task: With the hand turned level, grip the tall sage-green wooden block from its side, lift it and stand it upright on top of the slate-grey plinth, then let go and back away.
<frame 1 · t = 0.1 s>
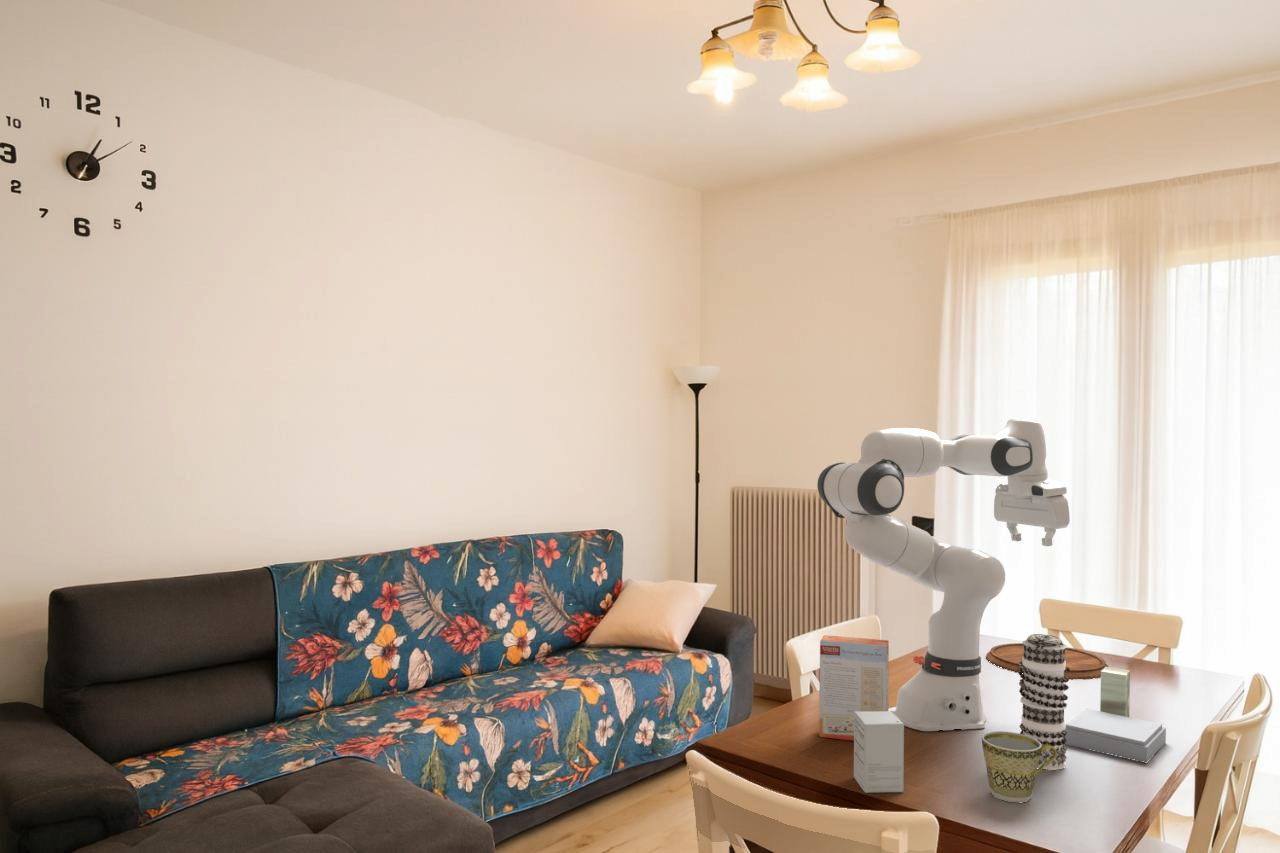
hand: (1031, 543, 214), 39 cm above the table, tool pointing down, fingers open, 8 cm apart
plinth: (1113, 743, 188), on the table
cutting board: (1046, 665, 253), on the table
supplement box: (877, 786, 165), on the table
cracker box: (853, 738, 190), on the table
ceramic cup: (1019, 797, 161), on the table
tall block: (1114, 724, 201), on the table
decorative candle: (1042, 763, 177), on the table
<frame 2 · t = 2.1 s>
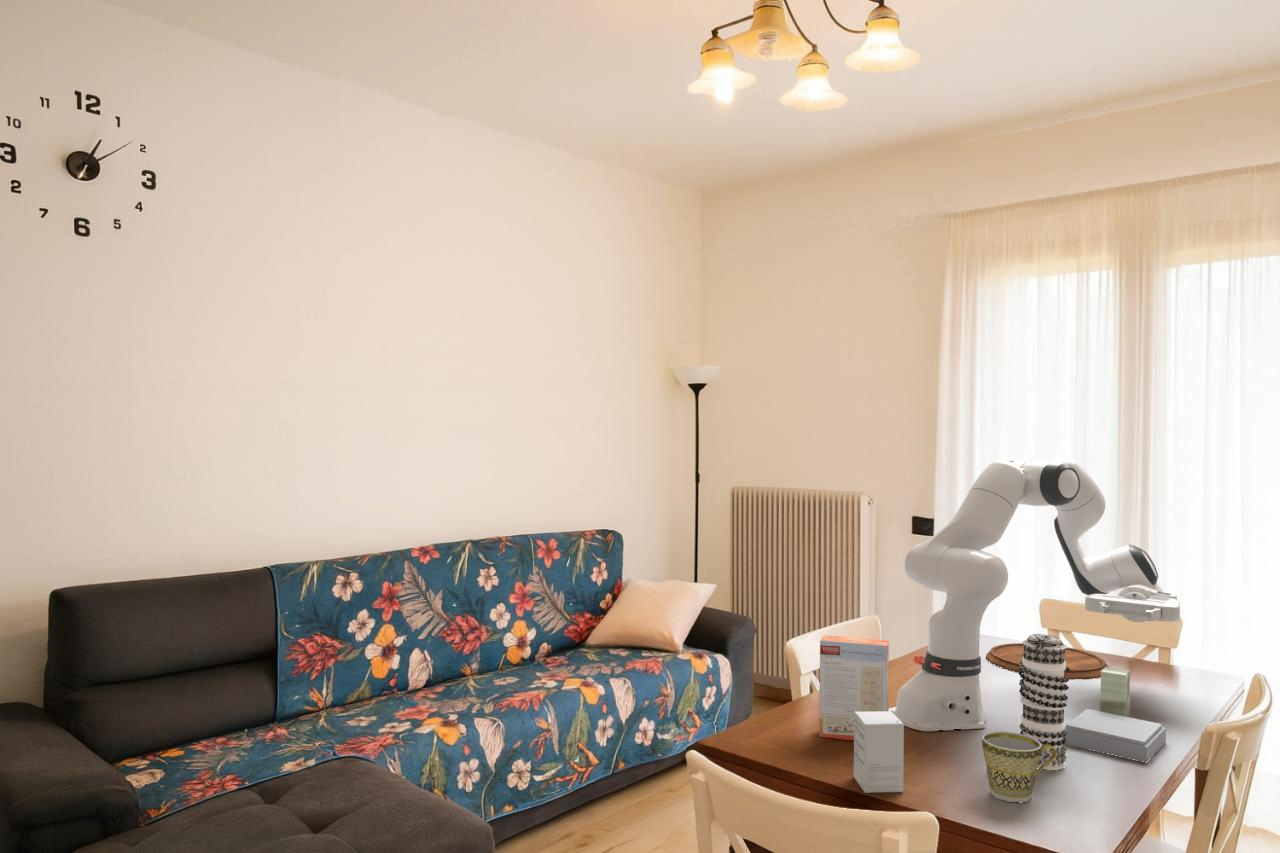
hand: (1126, 612, 210), 23 cm above the table, tool horizontal, fingers open, 8 cm apart
nothing on the table moved.
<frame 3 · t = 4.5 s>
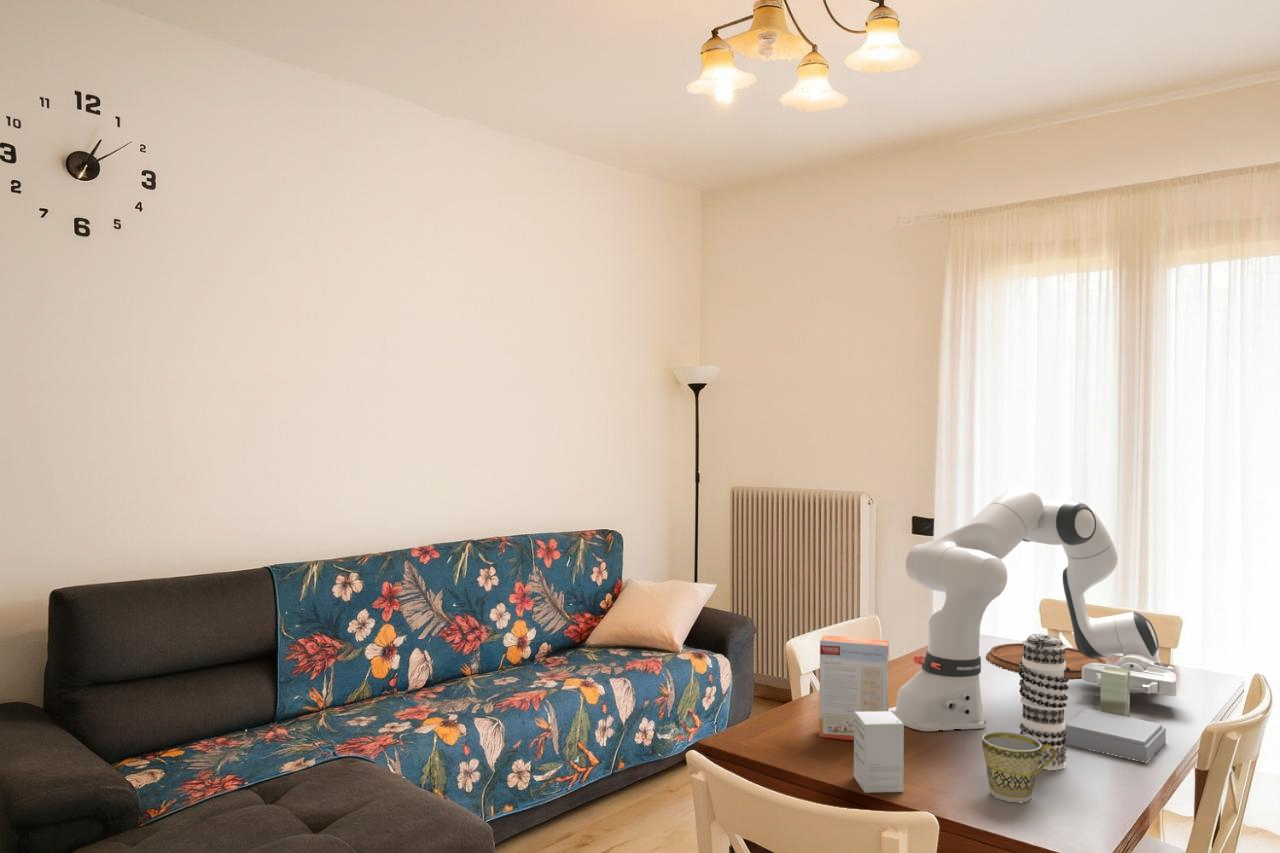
hand: (1123, 685, 209), 6 cm above the table, tool horizontal, fingers open, 8 cm apart
nothing on the table moved.
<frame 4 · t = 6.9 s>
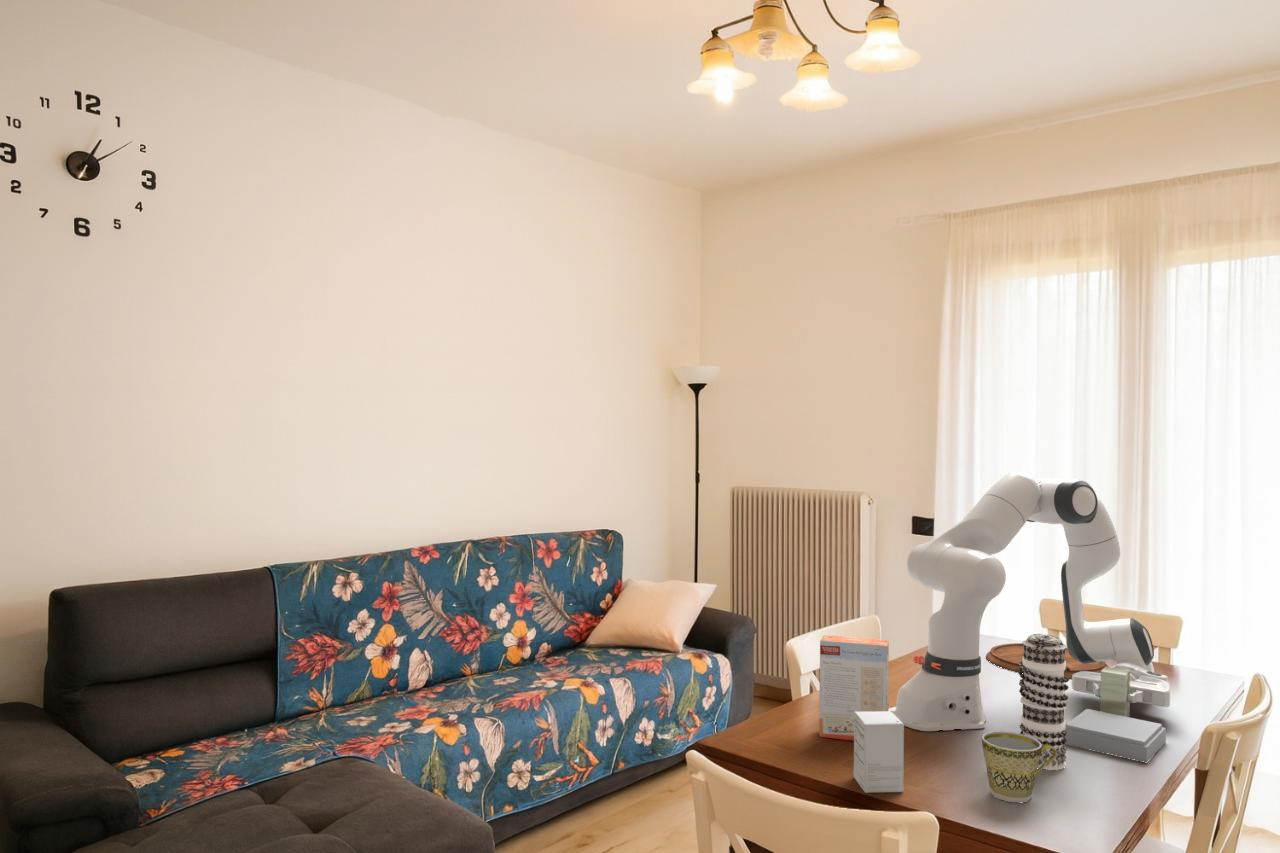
hand: (1114, 696, 200), 7 cm above the table, tool horizontal, fingers closed on tall block, 5 cm apart
tall block: (1114, 724, 201), on the table, touching gripper
everything else where it was.
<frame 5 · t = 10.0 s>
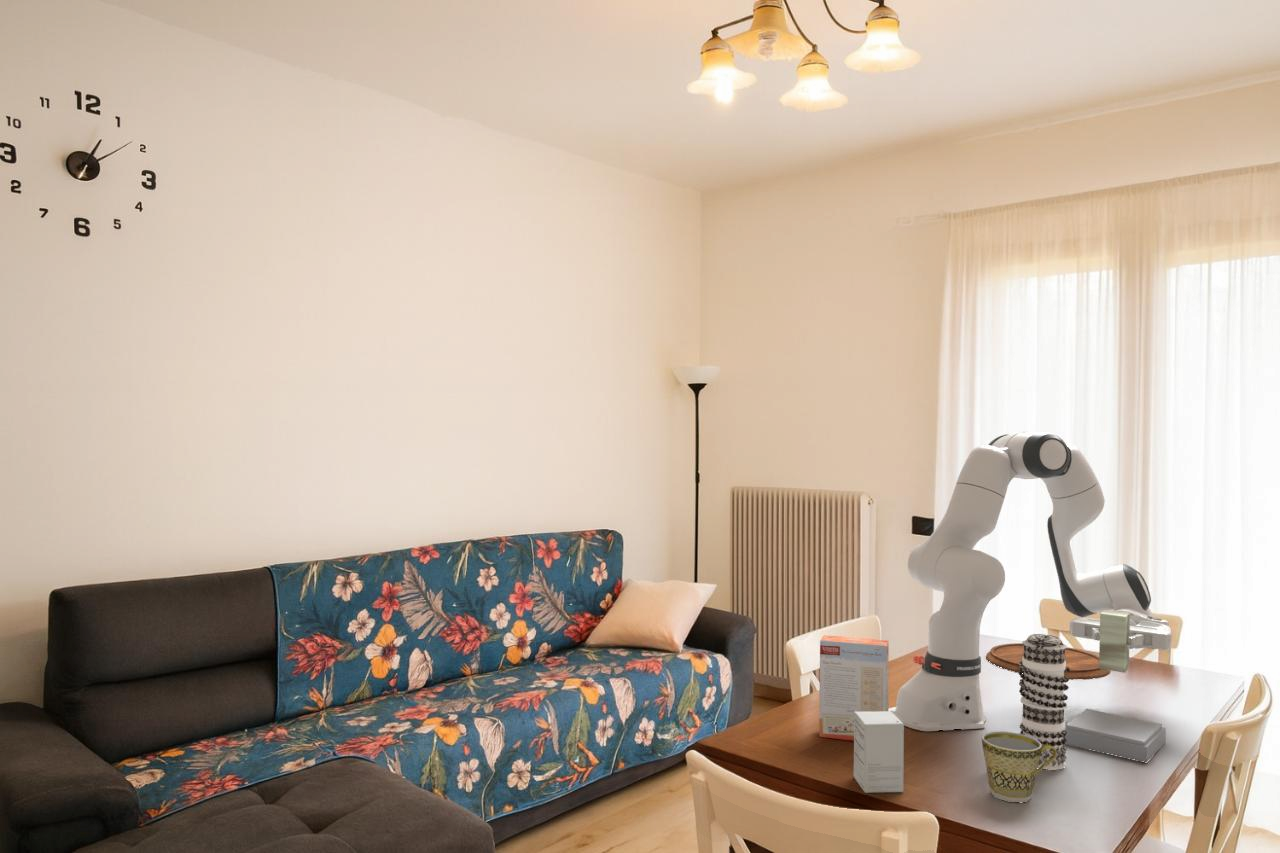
hand: (1113, 639, 194), 21 cm above the table, tool horizontal, fingers closed on tall block, 5 cm apart
tall block: (1114, 668, 195), point 14 cm above the table, touching gripper
everything else where it was.
when the fingers open (12 cm above the table, at t = 13.2 s): tall block drops 1 cm, resting on plinth.
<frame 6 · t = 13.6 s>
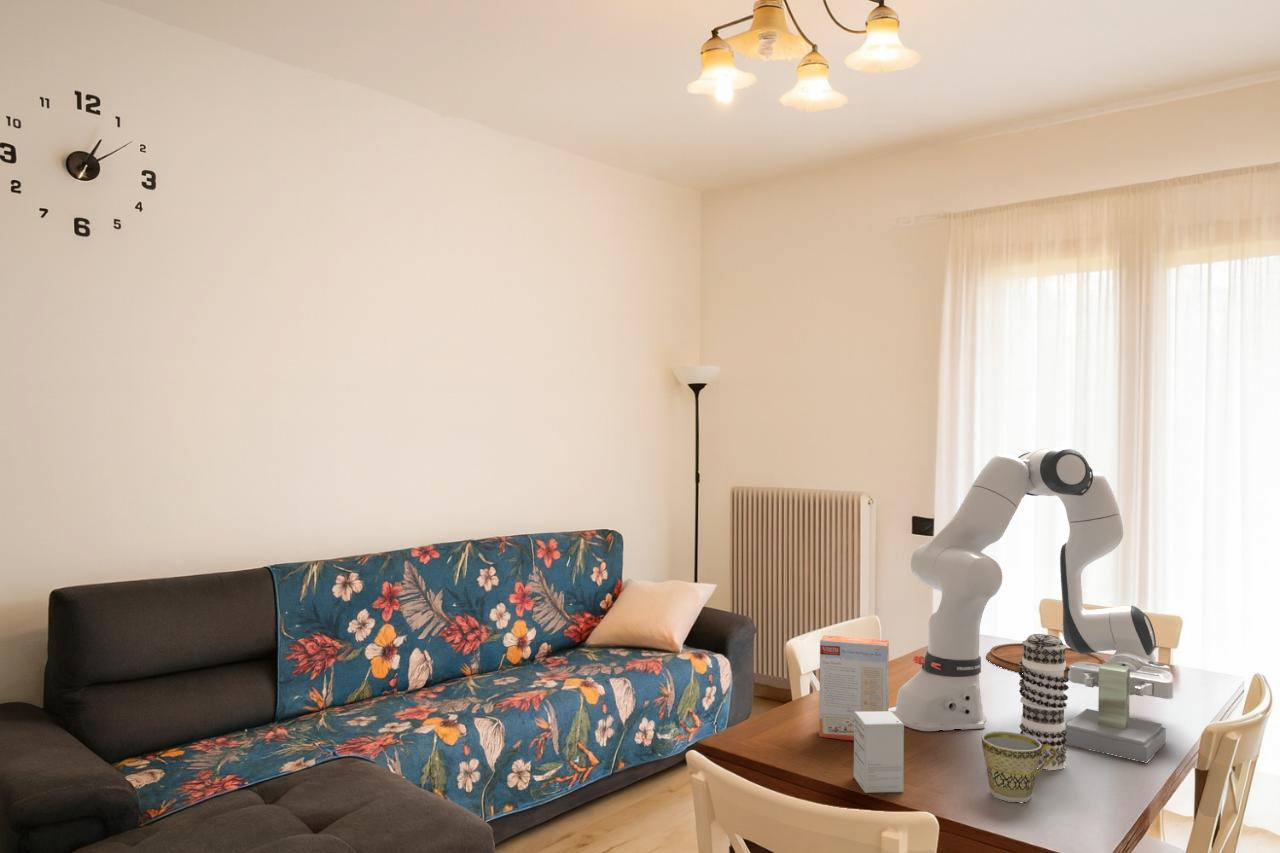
hand: (1113, 687, 188), 12 cm above the table, tool horizontal, fingers open, 8 cm apart
tall block: (1113, 724, 189), point 4 cm above the table, touching plinth
everything else where it was.
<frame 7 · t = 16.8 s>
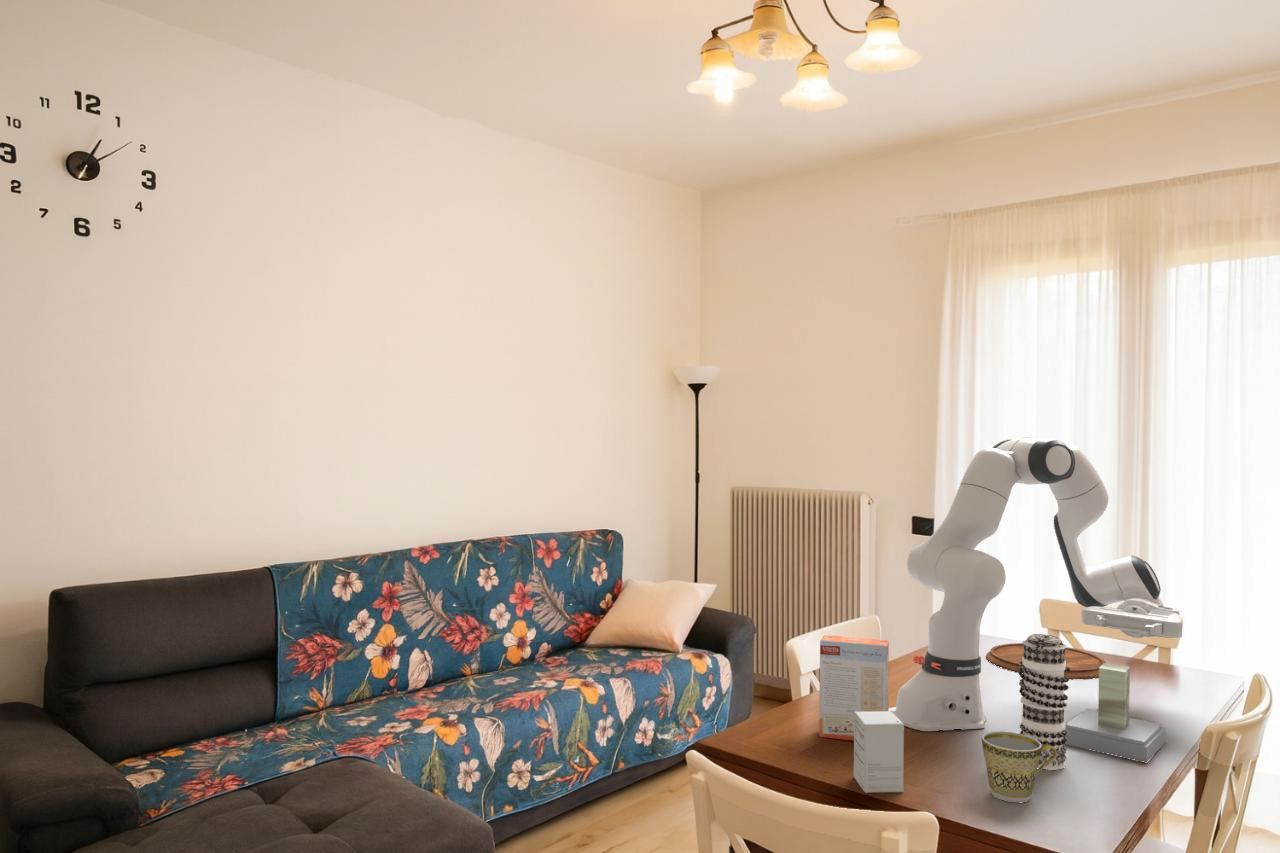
hand: (1125, 626, 198), 23 cm above the table, tool horizontal, fingers open, 8 cm apart
nothing on the table moved.
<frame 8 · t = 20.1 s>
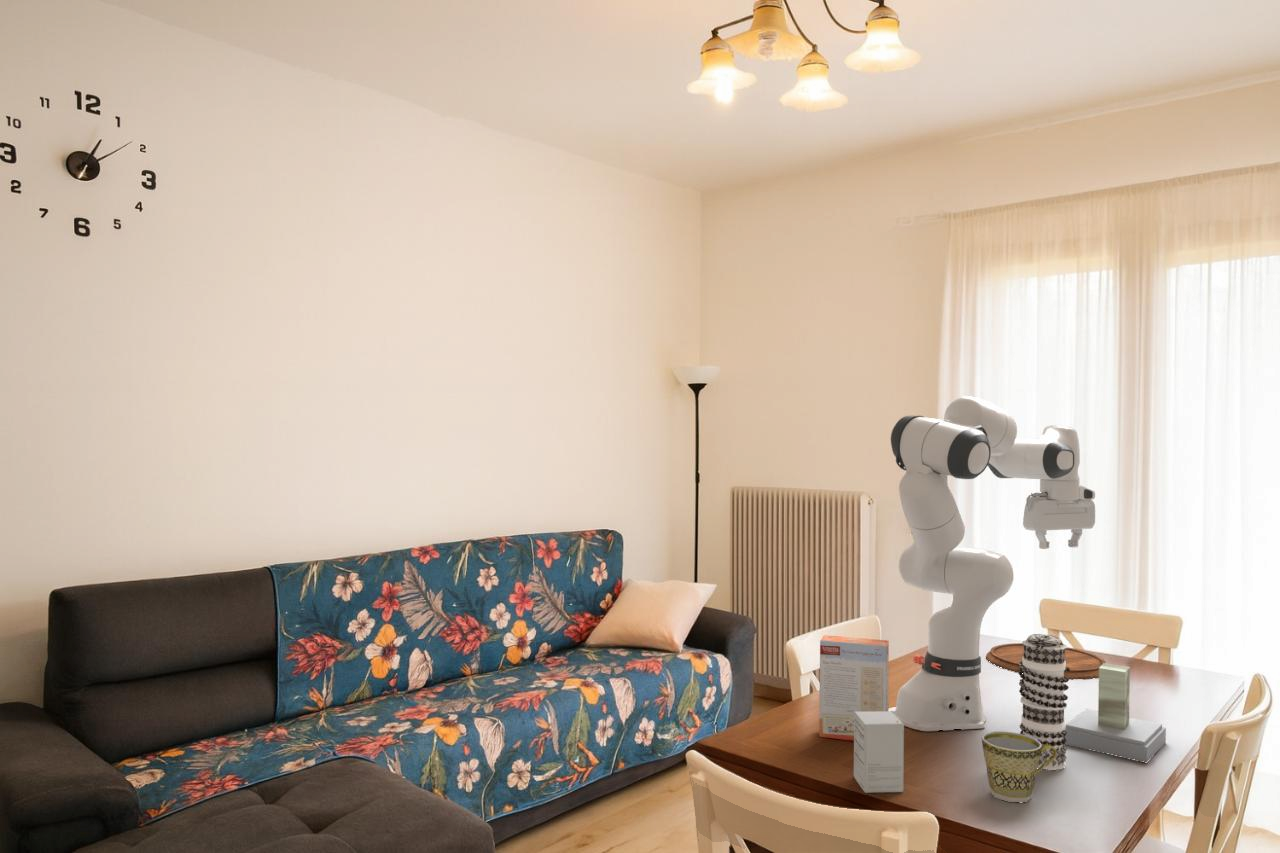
hand: (1058, 547, 220), 37 cm above the table, tool pointing down, fingers open, 8 cm apart
nothing on the table moved.
at the end: tall block inside the target area on the plinth (0.1 cm from its centre), point 4.0 cm above the plinth's base; tall block tilted 0°; the gripper is holding nothing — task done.
